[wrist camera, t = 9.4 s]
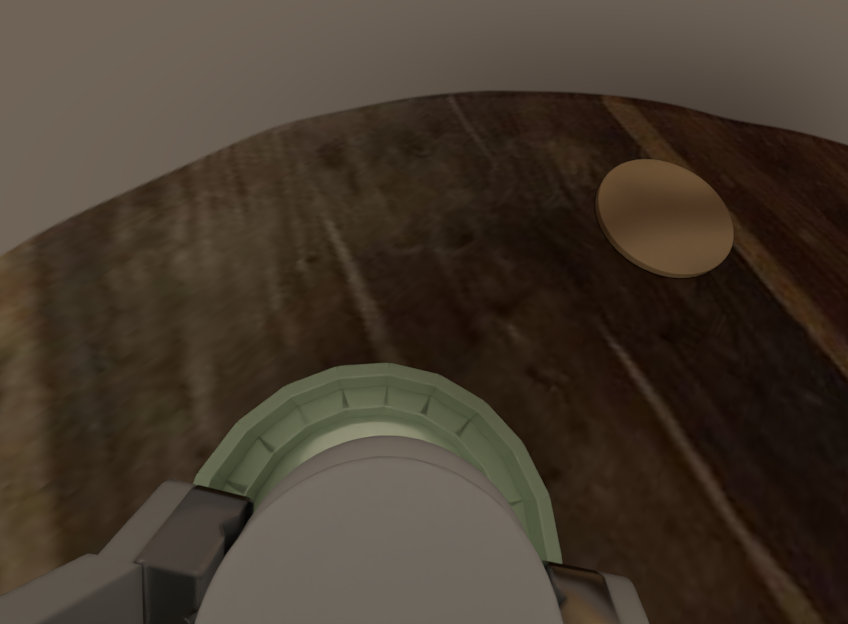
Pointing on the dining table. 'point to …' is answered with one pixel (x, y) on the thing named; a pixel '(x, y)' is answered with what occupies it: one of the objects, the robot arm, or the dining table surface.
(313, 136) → the dining table surface
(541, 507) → the bowl
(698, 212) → the coaster
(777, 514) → the dining table surface
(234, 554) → the pill bottle
